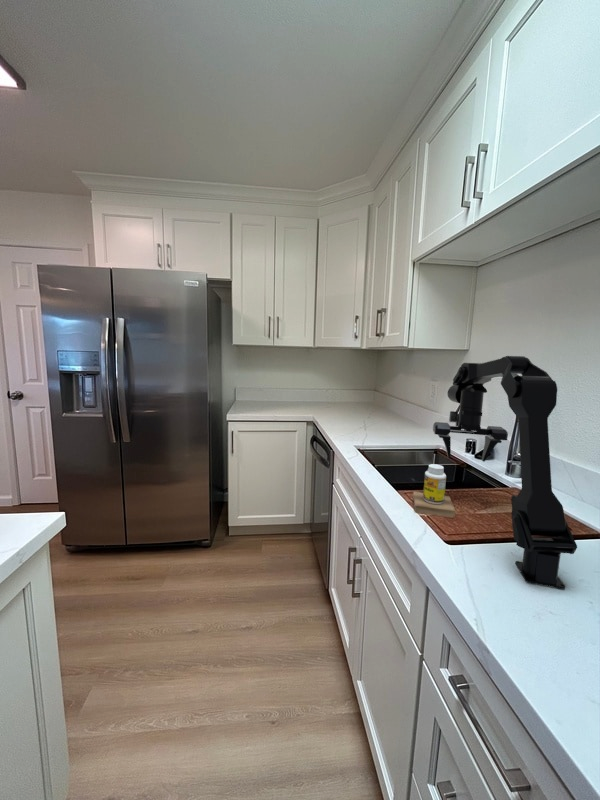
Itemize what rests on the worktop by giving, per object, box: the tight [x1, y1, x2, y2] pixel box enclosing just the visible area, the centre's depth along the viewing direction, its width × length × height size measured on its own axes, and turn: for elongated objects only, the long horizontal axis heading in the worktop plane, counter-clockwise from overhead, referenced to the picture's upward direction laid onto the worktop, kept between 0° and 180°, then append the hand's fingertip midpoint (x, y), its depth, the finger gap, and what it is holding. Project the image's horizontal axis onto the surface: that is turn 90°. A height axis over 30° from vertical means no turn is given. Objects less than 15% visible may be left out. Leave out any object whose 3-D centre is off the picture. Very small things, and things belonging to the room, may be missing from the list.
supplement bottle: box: [422, 463, 447, 504], centre depth 94 cm, size 6×6×10 cm
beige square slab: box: [412, 491, 456, 519], centre depth 95 cm, size 10×10×2 cm
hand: (465, 459), depth 98 cm, fingers open, 9 cm apart
